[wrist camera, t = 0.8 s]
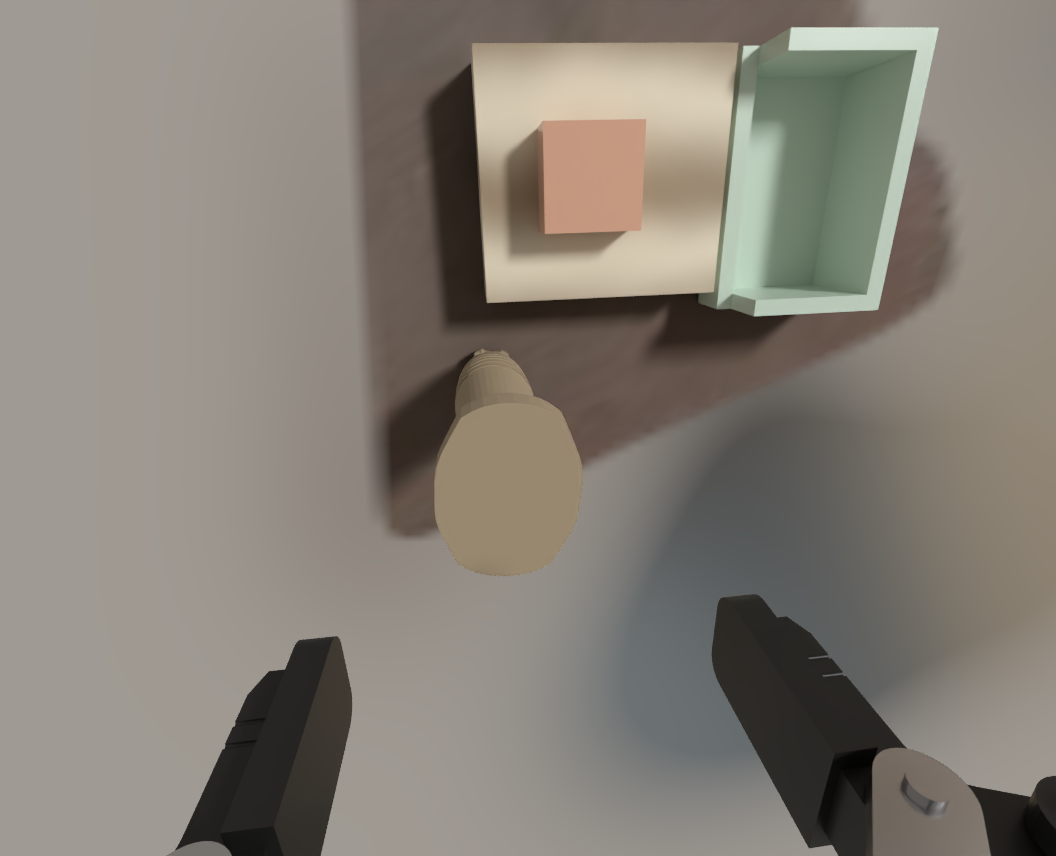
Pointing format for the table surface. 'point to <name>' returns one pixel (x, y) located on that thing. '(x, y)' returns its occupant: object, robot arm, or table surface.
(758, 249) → the box
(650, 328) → the table surface
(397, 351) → the table surface
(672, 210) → the cream flat slab
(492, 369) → the handle
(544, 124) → the tile
